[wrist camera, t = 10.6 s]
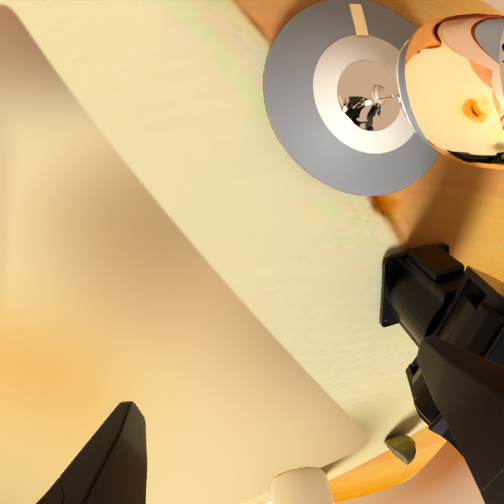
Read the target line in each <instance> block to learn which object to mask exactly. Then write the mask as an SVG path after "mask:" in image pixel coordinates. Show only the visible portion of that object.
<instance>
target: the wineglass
mask: <svg viewBox="0 0 504 504" xmlns="http://www.w3.org/2000/svg"><path fill="white" fill-rule="evenodd" d="M336 95H337V101H338V104H339V107H340V109H341V111H342V113H343V114H344V116H345V117H346V118H347V120H348V121H349V122H350V123H352V124H353V125H354V126H356V127H358V128H359V129H362V130H365V131H373V132H376V131H381V130H384V129H386V128H388V127H389V126H391V125H392V124H393V123H394V122H395V120H396V119H397V117H398V115H399V113H400V110H401V107H402V110H403V112H404V115H405V116H406V118H407V120H408V122H409V123H410V125H411V126H412V128H413V129H414V130H415V132H416V133H417V134H418V136H419V137H420V138H421V139H422V140H423V141H424V142H425V143H427V144H428V145H429V146H430V147H431V148H433V149H434V150H436V151H437V152H439V153H441V154H443V155H445V156H447V157H449V158H451V159H453V160H455V161H458V162H460V163H464V164H468V165H471V166H475V167H481V168H488V169H499V170H504V16H500V15H492V14H482V13H466V14H455V15H449V16H444V17H440V18H437V19H434V20H431V21H430V22H428V23H426V24H424V25H422V26H421V27H419V28H418V29H417V30H415V31H414V32H413V33H412V34H411V35H410V36H409V37H408V38H407V39H406V41H405V42H404V44H403V46H402V48H401V50H400V52H399V55H398V58H397V63H396V71H395V78H394V77H393V75H392V74H391V73H390V72H389V71H388V70H387V69H386V68H384V67H383V66H381V65H379V64H377V63H375V62H371V61H358V62H355V63H353V64H350V65H349V66H348V67H346V68H345V69H344V70H343V72H342V73H341V75H340V76H339V79H338V82H337V88H336Z"/></svg>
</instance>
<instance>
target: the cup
mask: <svg viewBox="0 0 504 504" xmlns="http://www.w3.org/2000/svg"><path fill="white" fill-rule="evenodd" d="M269 489H270V497H267V498H265V499H263V500H261V501H260V502H259V503H258V504H335V502H334V499H333V496H332V492H331V489H330V486H329V482H328V479H327V476H326V474H325V472H324V471H323V470H321V469H319V468H315V467H306V468H298V469H294V470H290V471H287V472H284V473H282V474H279V475H278V476H276V477H274V478H273V479H272V480H271V482H270V485H269Z"/></svg>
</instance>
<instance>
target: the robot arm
mask: <svg viewBox="0 0 504 504" xmlns="http://www.w3.org/2000/svg"><path fill="white" fill-rule="evenodd" d="M443 249H444V250H443ZM390 261H391V263H390V264H389V265H388V263H389V262H390ZM386 320H387V321H386ZM385 321H386V322H385ZM397 323H399V324H400V325H401V326H402V327H403V329H404V330H405V331H406V332H407V334H408V335H409V336H410V337H411V339H412V340H413V341H414V343H415V344H416V345H417V346H418V348H419V350H418V354H417V356H416V358H415V359H414V361H413V362H412V364H409V366H408V367H407V369H406V374H407V377H408V381H409V385H410V388H411V392H412V396H413V399H414V405H415V407H416V410H417V412H418V414H419V416H420V417H421V418H422V419H423V421H424V422H426V423H427V424H428V425H429V427H428V428H429V429H430V430H431V431H433V432H435V433H437V434H439V435H440V436H442V437H443V438H445V439H446V440H447V441H449V442H450V443H451V444H452V445H453V446H454V447H455V448H456V449H457V450H458V451H459V452H460V453H461V455H462V456H463V457H464V459H465V461H466V463H467V465H468V467H469V469H470V471H471V473H472V475H473V477H474V479H475V482H476V484H477V486H478V488H479V491H480V493H481V495H482V497H483V500H484V502H485V504H504V283H502V282H501V281H499V280H498V279H496V278H494V277H491V276H489V275H487V274H485V273H483V272H481V271H479V270H476V269H474V268H472V267H470V266H467V268H466V270H465V271H464V265H463V264H462V263H461V262H459V261H458V260H456V259H455V258H453V257H452V256H451V255H449V246H448V245H447V244H446V243H439V244H436V245H435V244H430V245H426V246H422V247H418V248H414V249H410V250H409V251H407V252H404V253H399V254H395V255H391V256H388V257H386V258H385V259H384V260H383V263H382V291H381V308H380V324H381V325H382V327H388V326H391V325H394V324H397ZM146 480H147V449H146V424H145V419H144V417H143V415H142V413H141V412H140V411H139V409H138V407H137V406H136V404H135V403H134V402H132V401H126V402H121V403H119V405H118V406H117V407H116V408H115V409H114V411H113V412H112V413H111V414H110V415H109V417H108V418H107V419H106V420H105V421H104V423H103V424H102V425H101V427H100V428H99V429H98V430H97V431H96V433H95V434H94V435H93V436H92V437H91V439H90V440H89V441H88V442H87V444H86V445H85V446H84V447H83V449H82V450H81V451H80V452H79V453H78V455H77V456H76V457H75V458H74V460H73V461H72V462H71V463H70V465H69V466H68V467H67V468H66V470H65V471H64V472H63V473H62V474H61V476H60V478H58V479H57V481H56V482H55V483H54V484H53V485H52V487H51V488H50V489H49V490H48V491H47V493H46V494H45V495H44V496H43V497H42V498H41V499H40V500H39V501H38V502H37V503H36V504H146Z"/></svg>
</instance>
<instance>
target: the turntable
mask: <svg viewBox="0 0 504 504" xmlns="http://www.w3.org/2000/svg"><path fill="white" fill-rule="evenodd" d="M415 30H417V28H416V27H415V26H414V25H413V24H411V23H410V22H409V21H408V20H406V19H405V18H404V17H402V16H401V15H400V14H398V13H396V12H395V11H393V10H391V9H389V8H387V7H385V6H383V5H380V4H378V3H375V2H371V1H368V0H325V1H321V2H318V3H315V4H313V5H311V6H309V7H307V8H305V9H303V10H302V11H300V12H299V13H297V14H296V15H295V16H294V17H293V18H292V19H290V20H289V21H288V22H287V23H286V24H285V26H284V27H283V28H282V30H281V31H280V32H279V34H278V35H277V37H276V38H275V40H274V42H273V44H272V46H271V48H270V50H269V53H268V56H267V59H266V63H265V68H264V74H263V93H264V102H265V106H266V110H267V114H268V118H269V120H270V123H271V125H272V128H273V130H274V132H275V134H276V136H277V138H278V140H279V142H280V143H281V144H282V146H283V147H284V149H285V150H286V152H287V153H288V154H289V155H290V157H291V158H292V159H293V160H294V161H295V162H296V163H297V164H298V165H299V166H300V167H301V168H302V169H304V170H305V171H306V172H307V173H308V174H310V175H311V176H313V177H314V178H316V179H317V180H319V181H321V182H322V183H324V184H326V185H328V186H330V187H332V188H334V189H337V190H340V191H342V192H345V193H349V194H354V195H360V196H378V195H385V194H389V193H393V192H396V191H399V190H401V189H404V188H405V187H407V186H409V185H411V184H412V183H414V182H415V181H416V180H418V179H419V178H420V177H422V176H423V175H424V174H425V173H426V172H427V171H428V170H429V168H430V167H431V166H432V164H433V163H434V162H435V160H436V159H437V157H438V155H439V154H440V153H439V152H437V151H436V150H434V149H433V148H431V147H430V146H429V145H428V144H427V143H425V142H424V141H423V140H422V139H421V138H420V137H419V136H418V134H417V133H416V132H415V130H414V129H413V128H412V126H411V125H410V123H409V122H408V120H407V118H406V116H405V115H404V112H403V110H402V107H401V110H400V113H399V115H398V117H397V119H396V120H395V122H394V123H393V124H392V125H391V126H389V127H388V128H386V129H384V130H381V131H376V132H373V131H365V130H362V129H359V128H358V127H356V126H354V125H353V124H352V123H350V122H349V121H348V120H347V118H346V117H345V116H344V114H343V113H342V111H341V109H340V107H339V104H338V101H337V95H336V88H337V82H338V79H339V76H340V75H341V73H342V72H343V70H344V69H345V68H346V67H348V66H349V65H350V64H353V63H355V62H358V61H371V62H375V63H377V64H379V65H381V66H383V67H384V68H386V69H387V70H388V71H389V72H390V73H391V74H392V75H393V77H394V78H395V71H396V63H397V58H398V55H399V52H400V50H401V48H402V46H403V44H404V42H405V41H406V39H407V38H408V37H409V36H410V35H411V34H412V33H413V32H414V31H415Z"/></svg>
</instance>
